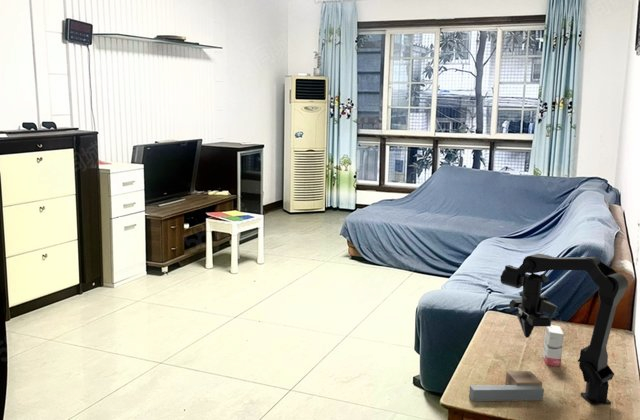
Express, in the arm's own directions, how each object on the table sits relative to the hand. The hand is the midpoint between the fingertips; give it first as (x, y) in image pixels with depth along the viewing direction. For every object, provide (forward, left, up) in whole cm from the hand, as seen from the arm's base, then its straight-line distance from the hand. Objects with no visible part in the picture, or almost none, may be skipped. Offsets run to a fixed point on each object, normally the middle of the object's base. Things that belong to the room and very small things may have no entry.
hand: (526, 337), depth 201 cm
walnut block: (-13, +6, -12) cm, 19 cm away
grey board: (-19, +14, -12) cm, 26 cm away
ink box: (+8, -14, -12) cm, 20 cm away
